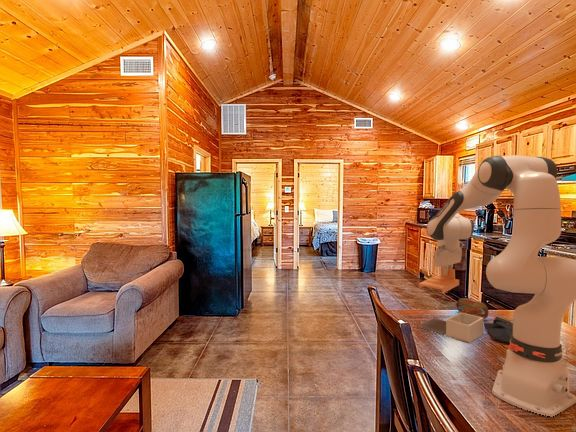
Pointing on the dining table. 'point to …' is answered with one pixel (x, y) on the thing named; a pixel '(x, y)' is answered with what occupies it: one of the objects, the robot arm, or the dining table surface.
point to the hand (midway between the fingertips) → (447, 274)
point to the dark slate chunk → (500, 329)
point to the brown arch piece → (472, 307)
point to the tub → (464, 327)
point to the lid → (441, 281)
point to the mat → (435, 326)
